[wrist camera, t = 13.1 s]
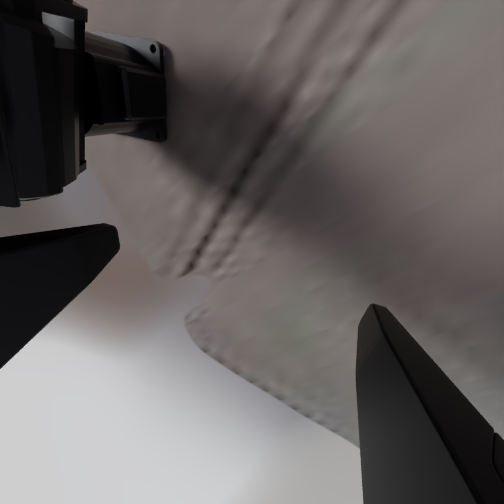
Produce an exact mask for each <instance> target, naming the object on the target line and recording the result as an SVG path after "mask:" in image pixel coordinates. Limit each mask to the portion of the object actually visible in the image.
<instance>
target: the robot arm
mask: <svg viewBox="0 0 504 504" xmlns="http://www.w3.org/2000/svg"><path fill="white" fill-rule="evenodd" d="M87 17H88V9H87V8H85V7H83V6H81V5H79V4H78V3H76V2H74V1H73V0H0V206H6V207H19V206H20V205H21V204H20V201H30V200H37V199H40V198H45V197H50V196H54V195H58V194H60V193H62V192H63V187H64V186H66V185H68V184H70V183H71V182H73V181H74V180H76V178H77V176H78V174H80V173H81V172H83V171H84V170H85V169H86V160H85V137H86V136H96V135H105V134H114V133H119V134H123V135H128V136H132V137H137V138H141V139H146V140H150V141H155V142H164V141H166V138H167V132H166V116H167V113H166V90H165V78H164V66H163V49H162V46H161V44H160V43H159V42H157V41H155V40H152V39H145V38H138V37H131V36H124V35H117V34H110V33H103V32H96V31H89V30H85V22H87ZM154 46H155V47H156V53H154V50H153V48H154ZM159 133H160V134H161V138H160V137H159ZM119 249H120V242H119V237H118V231H117V229H116V227H114V226H113V225H109V224H105V223H102V224H94V225H87V226H80V227H72V228H65V229H59V230H51V231H44V232H37V233H29V234H22V235H14V236H7V237H0V369H1V368H2V367H3V366H4V365H5V364H6V363H7V362H8V361H9V360H10V359H11V358H12V357H13V356H14V355H15V354H17V353H18V352H19V351H20V350H21V349H22V348H23V347H24V346H25V345H26V344H27V343H28V342H29V341H30V340H31V339H32V338H33V337H34V336H36V334H38V333H39V332H40V331H41V330H42V329H43V328H44V327H45V326H46V325H47V324H48V323H49V322H50V321H51V320H52V319H53V318H54V317H56V316H57V315H58V314H59V313H60V312H61V311H62V310H63V309H64V308H65V307H66V306H67V305H68V304H69V303H70V302H71V301H72V300H73V299H75V297H77V296H78V295H79V294H80V293H81V292H82V291H83V290H84V289H85V288H86V287H87V286H88V285H89V284H90V283H91V282H92V281H93V280H94V279H95V278H96V277H97V276H98V274H99V273H100V272H101V271H102V270H103V269H104V267H105V266H106V265H107V264H108V263H109V262H110V261H111V259H112V258H113V257H114V256H115V255H116V254H117V253H118V251H119ZM356 392H357V408H358V424H359V440H360V456H361V471H362V487H363V503H364V504H504V440H503V439H502V438H501V436H500V435H499V434H498V433H495V432H494V429H493V427H492V426H491V425H490V424H489V423H488V422H487V421H486V420H485V418H484V417H483V416H482V415H481V414H480V413H479V412H478V411H477V409H476V408H475V407H474V406H473V405H472V404H471V403H470V402H469V400H468V399H467V398H466V397H465V396H464V395H463V394H462V392H461V391H460V390H459V389H458V388H457V387H456V386H455V385H454V383H453V382H452V381H451V380H450V379H449V378H448V377H447V376H446V374H445V373H444V372H443V371H442V370H441V369H440V368H439V366H438V365H437V364H436V363H435V362H434V361H433V360H432V359H431V357H430V356H429V355H428V354H427V353H426V352H425V351H424V350H423V348H422V347H421V346H420V345H419V344H418V343H417V342H416V340H415V339H414V338H413V337H412V336H411V335H410V334H409V333H408V331H407V330H406V329H405V328H404V327H403V326H402V325H401V324H400V322H399V321H398V320H397V319H396V318H395V317H394V316H393V314H392V313H391V312H390V311H389V310H388V309H387V308H386V307H384V306H380V305H377V304H370V305H369V307H368V308H367V310H366V312H365V314H364V315H363V317H362V319H361V320H360V323H359V326H358V339H357V356H356Z"/></svg>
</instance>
